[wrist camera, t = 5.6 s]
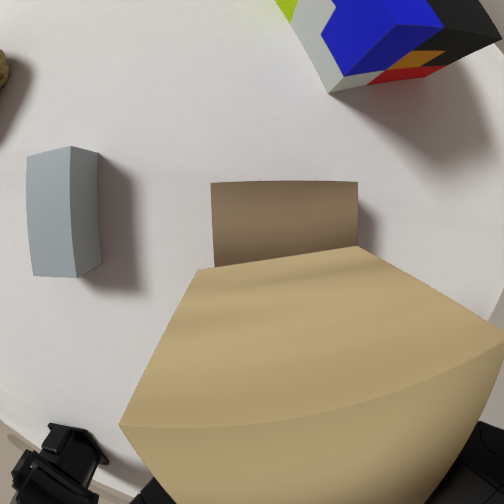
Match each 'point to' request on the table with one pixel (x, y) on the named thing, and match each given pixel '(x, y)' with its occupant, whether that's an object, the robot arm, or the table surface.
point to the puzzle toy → (386, 37)
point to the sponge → (3, 69)
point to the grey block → (63, 212)
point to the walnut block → (281, 219)
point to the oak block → (311, 384)
